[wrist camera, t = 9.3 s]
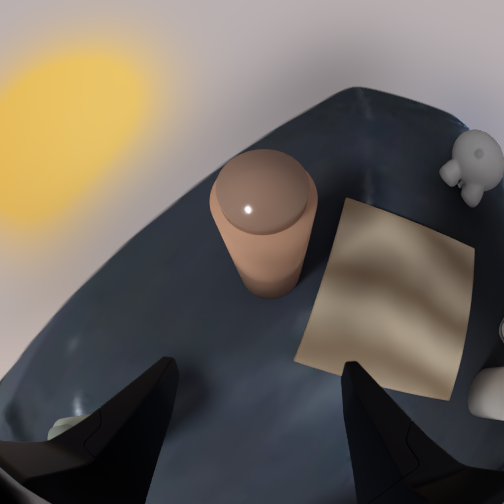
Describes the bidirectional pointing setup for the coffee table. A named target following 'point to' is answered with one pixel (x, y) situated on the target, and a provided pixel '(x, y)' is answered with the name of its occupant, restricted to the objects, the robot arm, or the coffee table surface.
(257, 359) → the coffee table surface
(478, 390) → the cream jar
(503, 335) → the smartphone
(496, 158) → the chubby cartoon animal
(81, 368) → the coffee table surface
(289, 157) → the terracotta jar
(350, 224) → the beige cloth
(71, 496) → the robot arm
